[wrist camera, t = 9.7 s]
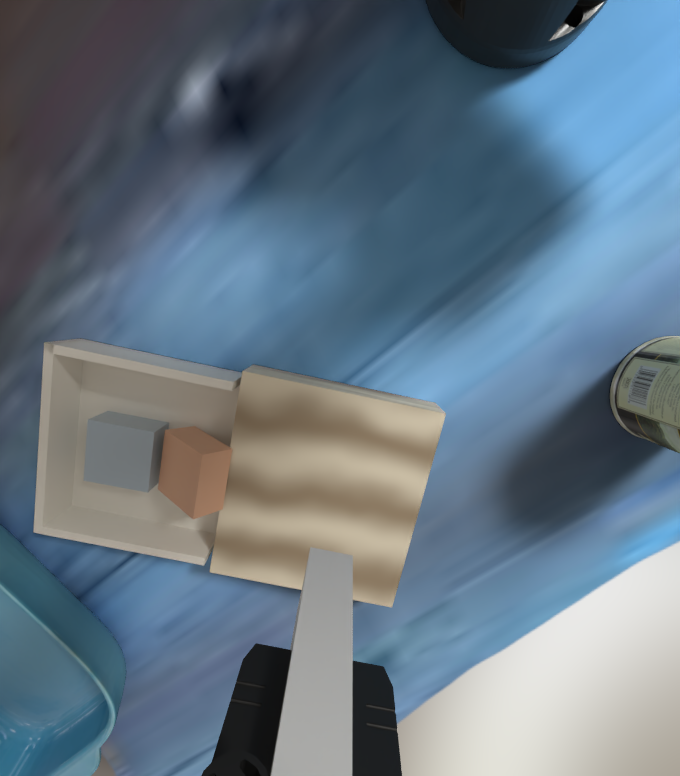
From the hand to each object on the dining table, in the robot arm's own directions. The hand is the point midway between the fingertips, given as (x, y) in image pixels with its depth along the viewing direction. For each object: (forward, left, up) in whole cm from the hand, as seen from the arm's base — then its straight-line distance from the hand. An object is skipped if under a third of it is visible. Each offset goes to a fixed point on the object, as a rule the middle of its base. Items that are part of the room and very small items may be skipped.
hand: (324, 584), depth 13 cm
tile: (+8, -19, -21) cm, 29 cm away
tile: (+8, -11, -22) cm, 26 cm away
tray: (+7, -17, -25) cm, 31 cm away
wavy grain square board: (+7, 0, -25) cm, 26 cm away
